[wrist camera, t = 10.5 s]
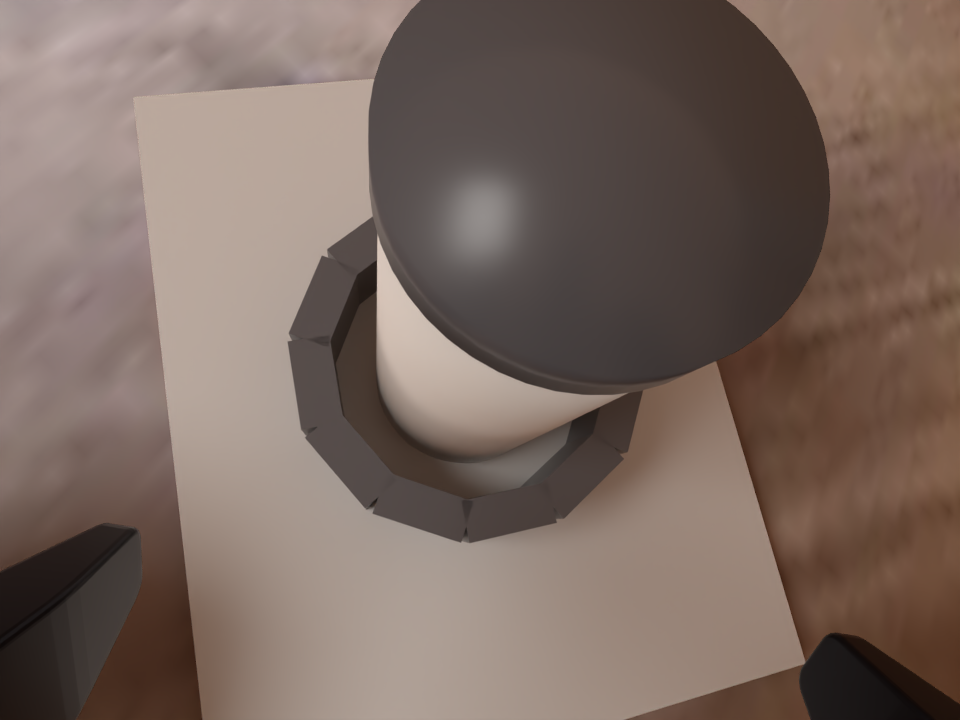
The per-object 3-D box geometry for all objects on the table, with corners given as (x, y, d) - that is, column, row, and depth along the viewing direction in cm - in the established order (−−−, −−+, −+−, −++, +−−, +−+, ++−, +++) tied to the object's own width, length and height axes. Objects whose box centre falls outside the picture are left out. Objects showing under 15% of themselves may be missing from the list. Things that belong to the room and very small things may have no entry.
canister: (584, 384, 19) (911, 179, 7) (458, 506, 17) (619, 488, 6) (467, 259, 19) (605, -123, 8) (334, 367, 18) (259, 97, 6)
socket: (792, 658, 19) (869, 685, 16) (222, 833, 15) (187, 906, 12) (620, 71, 23) (656, 6, 20) (140, 109, 19) (99, 38, 16)
